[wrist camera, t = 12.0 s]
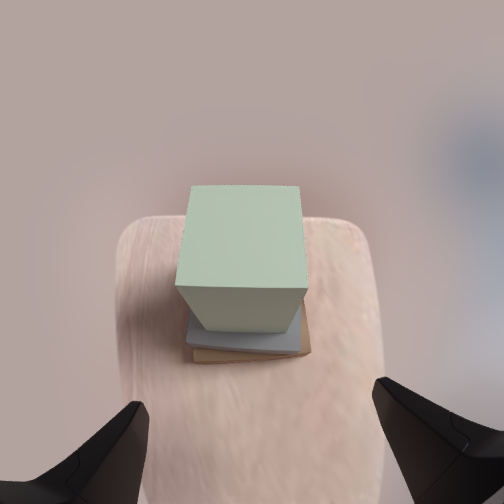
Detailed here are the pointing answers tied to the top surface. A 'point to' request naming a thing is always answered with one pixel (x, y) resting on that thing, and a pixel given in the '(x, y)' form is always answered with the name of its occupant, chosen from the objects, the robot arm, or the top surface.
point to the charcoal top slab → (246, 338)
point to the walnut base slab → (231, 356)
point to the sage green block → (243, 257)
